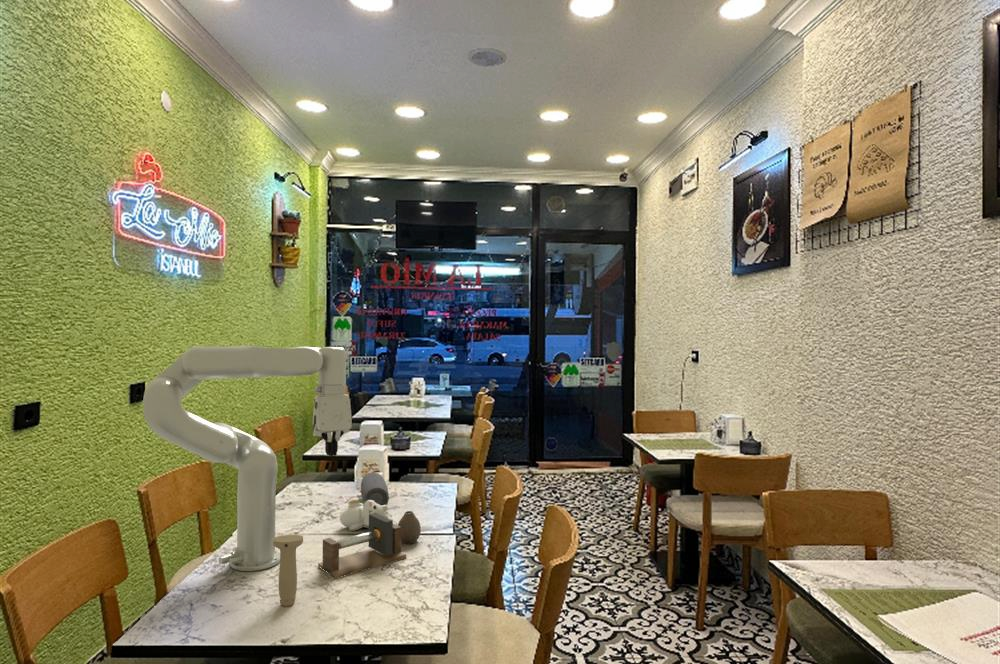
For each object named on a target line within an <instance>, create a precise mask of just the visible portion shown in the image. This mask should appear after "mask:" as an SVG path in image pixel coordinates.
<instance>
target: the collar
mask: <svg viewBox="0 0 1000 664" xmlns="http://www.w3.org/2000/svg"><path fill="white" fill-rule="evenodd" d="M393 521H394V520H392V519H390V518H389V517H388V518H385V517H383V516H381V515H378V514H376V513H373V514H369V528H368V532H371V531H374V530H375V529H380V530H381V539H380V540H373V541H369V542H368V547H369V549H374V550H376V551H378V552H380V553H382V554H384V555H390V554H392V537H393V524H394V522H393Z"/></svg>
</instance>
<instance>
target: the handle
mask: <svg viewBox="0 0 1000 664" xmlns="http://www.w3.org/2000/svg"><path fill="white" fill-rule="evenodd" d="M303 543H304V536H303V535H301V534H284V535H279V536H275V538H274V539H273V545H274V546H275V549H279V550H280V552H279V553H280V562H279V570H278V595H279V598H280V599H279V604H280V606H283V607H286V608H287V607H290V606H293V605H294V604H295V602H296V595H297V588H298V587H297V586H298V570H297V569H298V568H297V549H298V547H300V546H302V544H303Z"/></svg>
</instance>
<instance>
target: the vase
mask: <svg viewBox="0 0 1000 664" xmlns="http://www.w3.org/2000/svg"><path fill="white" fill-rule="evenodd" d="M397 525H398V526H400V527H401V544H405V543H406V545H407V544H408V545H409V543H412V544H415V543H416V542H417V541H418V540H419V538H420V536H421V530H422V529H421V523H420V520H419V519H418V518H417V516H416V515H415V513H414V511H412V510H406V511H404V513H403V516H402V517H401V518H400V520H399V521H398V524H397ZM414 542H415V543H414Z"/></svg>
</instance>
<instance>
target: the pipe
mask: <svg viewBox="0 0 1000 664" xmlns="http://www.w3.org/2000/svg"><path fill="white" fill-rule="evenodd" d="M380 539H381V530H380V529H375V530H374V531H371V532H369V531H368V532H364V533H360V534H359V533H358V534H356V535H352V536H347V537H344V538H339V539H336V540H335V539H334V540H335V541H337V542H339V550H341V549H346V548H350V547H354V546H357V545H360V544H361V545H362V544H365V543H369V541H373V540H380Z"/></svg>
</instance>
